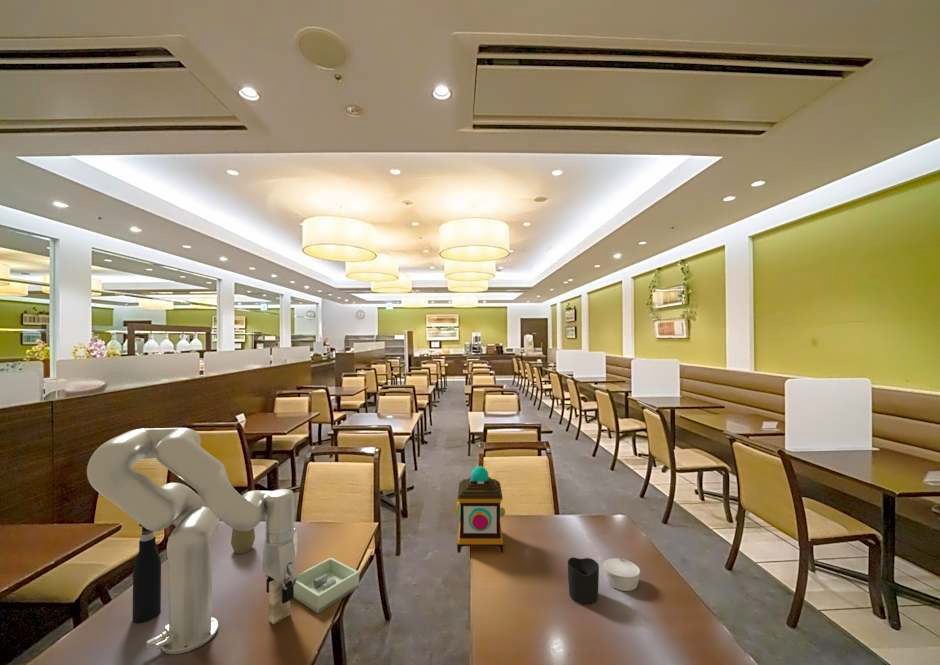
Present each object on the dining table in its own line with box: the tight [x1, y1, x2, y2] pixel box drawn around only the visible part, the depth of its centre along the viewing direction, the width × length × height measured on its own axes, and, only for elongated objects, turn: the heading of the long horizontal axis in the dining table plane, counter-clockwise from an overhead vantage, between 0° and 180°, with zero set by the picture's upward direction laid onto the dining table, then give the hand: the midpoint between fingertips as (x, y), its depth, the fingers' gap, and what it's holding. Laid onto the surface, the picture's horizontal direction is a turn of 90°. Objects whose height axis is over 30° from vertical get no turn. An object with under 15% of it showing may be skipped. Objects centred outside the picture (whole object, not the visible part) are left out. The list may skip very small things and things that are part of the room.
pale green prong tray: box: [293, 557, 360, 614], centre depth 128 cm, size 15×15×5 cm
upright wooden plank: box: [268, 574, 291, 625], centre depth 116 cm, size 5×2×11 cm, turn 145°
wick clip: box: [314, 574, 336, 591], centre depth 128 cm, size 4×6×2 cm
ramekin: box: [603, 557, 641, 592], centre depth 132 cm, size 11×11×5 cm
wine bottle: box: [132, 523, 162, 624], centre depth 117 cm, size 6×6×30 cm
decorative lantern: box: [454, 465, 506, 554], centre depth 159 cm, size 20×20×30 cm
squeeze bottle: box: [230, 527, 256, 554], centre depth 154 cm, size 8×8×18 cm
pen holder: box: [567, 556, 600, 605], centre depth 125 cm, size 9×9×10 cm
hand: (279, 595), depth 116 cm, fingers open, 7 cm apart
